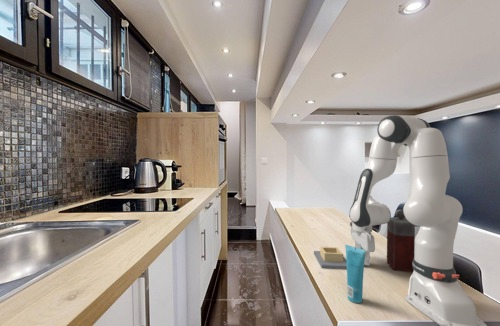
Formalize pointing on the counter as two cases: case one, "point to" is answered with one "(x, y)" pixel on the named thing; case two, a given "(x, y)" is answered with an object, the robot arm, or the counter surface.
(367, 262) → the block
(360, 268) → the tube
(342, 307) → the counter surface
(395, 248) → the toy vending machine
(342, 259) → the collar stand
